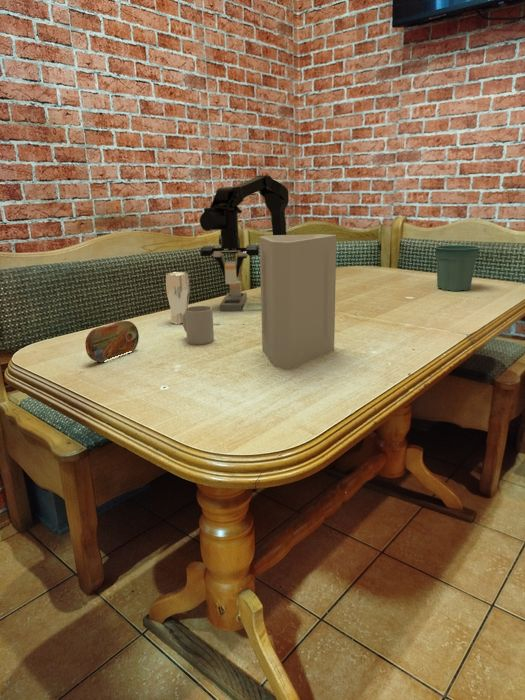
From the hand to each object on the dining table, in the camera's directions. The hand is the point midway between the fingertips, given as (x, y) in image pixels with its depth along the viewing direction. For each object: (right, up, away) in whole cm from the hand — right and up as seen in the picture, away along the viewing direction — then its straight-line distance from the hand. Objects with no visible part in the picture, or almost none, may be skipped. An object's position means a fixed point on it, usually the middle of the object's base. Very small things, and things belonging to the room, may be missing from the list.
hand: (231, 277), depth 166 cm
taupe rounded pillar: (+17, -25, -43) cm, 52 cm away
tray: (+9, -11, +3) cm, 14 cm away
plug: (0, -2, +1) cm, 2 cm away
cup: (-7, -22, -30) cm, 37 cm away
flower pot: (+85, 0, +30) cm, 90 cm away
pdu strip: (0, -9, +8) cm, 12 cm away
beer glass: (-15, -15, -10) cm, 24 cm away
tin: (-26, -26, -42) cm, 56 cm away
